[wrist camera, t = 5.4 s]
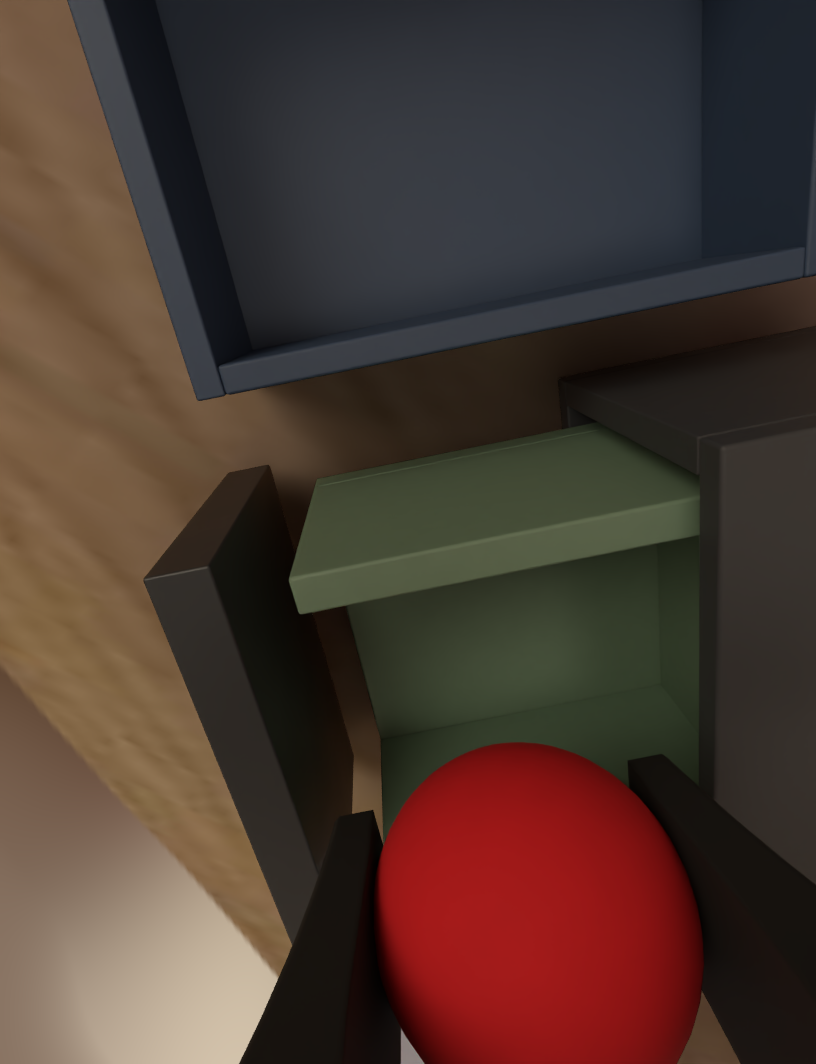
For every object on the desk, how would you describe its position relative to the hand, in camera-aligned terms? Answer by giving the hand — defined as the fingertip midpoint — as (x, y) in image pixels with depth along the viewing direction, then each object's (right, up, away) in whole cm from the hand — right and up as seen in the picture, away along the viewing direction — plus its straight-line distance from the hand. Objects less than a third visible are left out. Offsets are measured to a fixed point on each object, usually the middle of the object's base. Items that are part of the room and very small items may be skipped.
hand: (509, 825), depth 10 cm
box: (-1, +15, +4) cm, 16 cm away
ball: (0, -1, -1) cm, 2 cm away
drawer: (0, +3, +8) cm, 9 cm away
